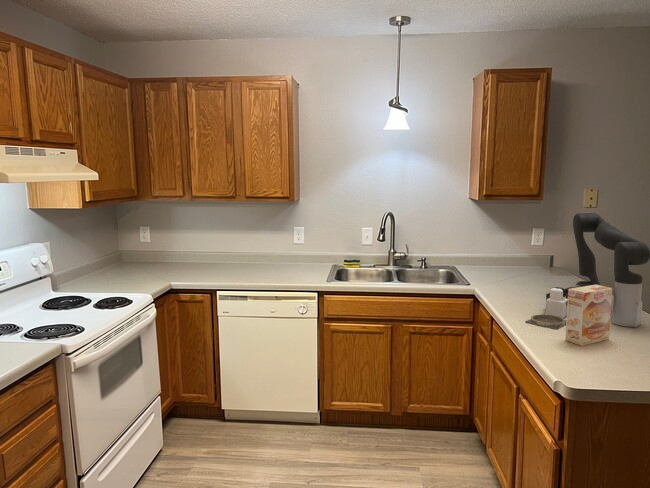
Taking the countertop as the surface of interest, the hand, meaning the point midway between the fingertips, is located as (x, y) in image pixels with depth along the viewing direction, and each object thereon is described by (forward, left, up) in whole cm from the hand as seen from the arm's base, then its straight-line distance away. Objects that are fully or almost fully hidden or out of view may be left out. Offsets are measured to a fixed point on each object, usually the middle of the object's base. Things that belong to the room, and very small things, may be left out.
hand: (557, 301), depth 202 cm
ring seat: (-2, +13, -6) cm, 14 cm away
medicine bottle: (0, 0, -6) cm, 6 cm away
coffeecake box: (-21, +23, -6) cm, 32 cm away
